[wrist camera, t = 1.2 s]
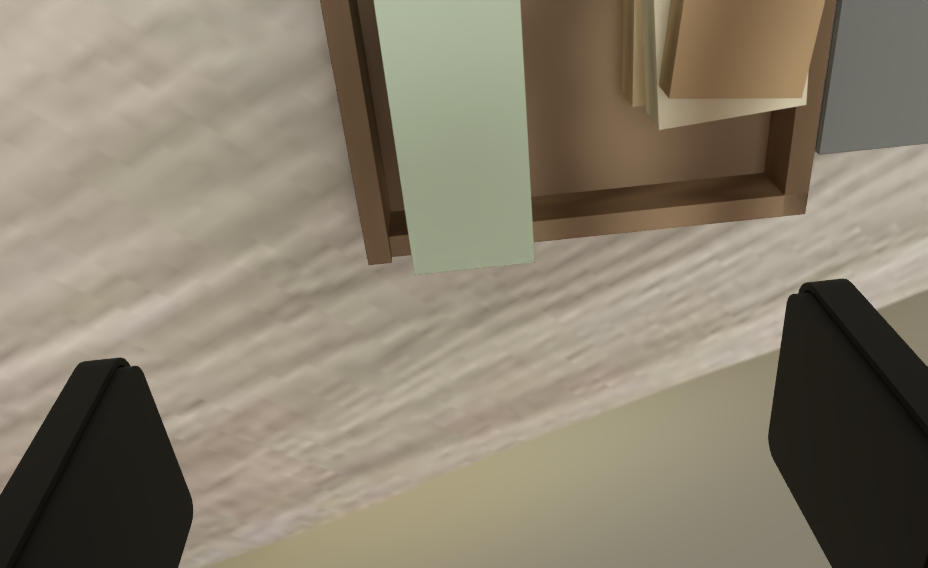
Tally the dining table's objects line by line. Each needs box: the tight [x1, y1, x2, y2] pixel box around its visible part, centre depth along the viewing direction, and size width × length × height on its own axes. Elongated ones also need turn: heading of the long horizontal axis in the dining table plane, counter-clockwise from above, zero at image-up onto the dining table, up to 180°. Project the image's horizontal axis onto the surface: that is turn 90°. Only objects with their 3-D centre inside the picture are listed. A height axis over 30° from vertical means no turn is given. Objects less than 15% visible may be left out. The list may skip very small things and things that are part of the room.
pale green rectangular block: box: [374, 0, 535, 275], centre depth 28 cm, size 4×12×10 cm, turn 5°
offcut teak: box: [659, 0, 825, 99], centre depth 28 cm, size 5×6×2 cm
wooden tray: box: [320, 0, 837, 265], centre depth 31 cm, size 19×19×4 cm
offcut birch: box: [641, 0, 809, 130], centre depth 29 cm, size 6×8×2 cm
